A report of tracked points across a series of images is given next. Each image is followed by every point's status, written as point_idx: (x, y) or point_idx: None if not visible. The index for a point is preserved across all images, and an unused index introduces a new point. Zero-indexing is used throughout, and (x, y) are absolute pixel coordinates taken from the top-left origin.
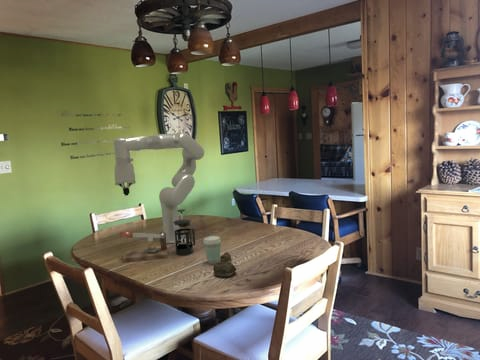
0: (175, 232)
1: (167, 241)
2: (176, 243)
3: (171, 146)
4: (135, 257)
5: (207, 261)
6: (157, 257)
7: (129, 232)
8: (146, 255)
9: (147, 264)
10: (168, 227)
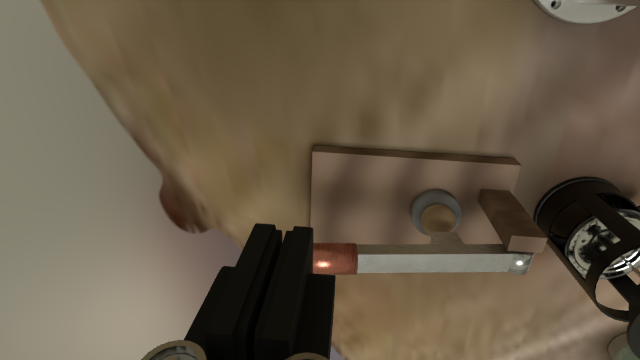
0: (593, 301)
1: (553, 14)
2: (562, 260)
3: None
4: None
5: (611, 351)
6: None
7: (338, 272)
8: (406, 241)
9: (403, 282)
10: (629, 1)
